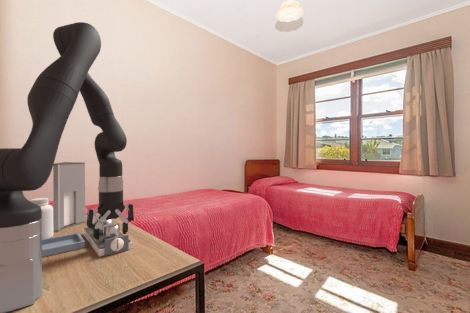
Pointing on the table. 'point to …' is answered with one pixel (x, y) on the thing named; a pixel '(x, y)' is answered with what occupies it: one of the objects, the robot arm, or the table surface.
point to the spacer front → (110, 231)
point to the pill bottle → (45, 217)
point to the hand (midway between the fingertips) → (111, 236)
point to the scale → (107, 243)
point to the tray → (62, 244)
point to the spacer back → (95, 218)
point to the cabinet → (68, 194)
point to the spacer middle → (103, 225)
